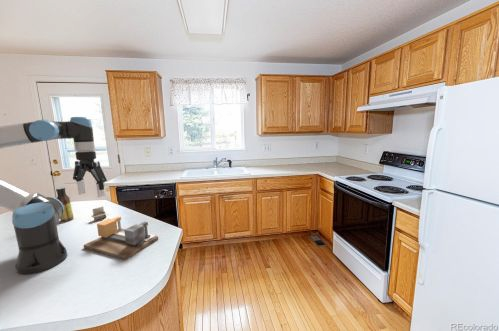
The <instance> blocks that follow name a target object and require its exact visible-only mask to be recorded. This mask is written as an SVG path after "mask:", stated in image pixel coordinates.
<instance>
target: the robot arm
mask: <svg viewBox="0 0 499 331" xmlns="http://www.w3.org/2000/svg"><path fill="white" fill-rule="evenodd" d="M63 139H65V140H66V139H73V146H74V151H75V159H76V160H75V161H74V170H73V173H72V174H73V175H72V179H73V180H75V182H76V185H77V191H78V195H83V194H84V195H85V194H86V193H87V192H86V187H85V185H86V184H85V180H84V177H85V175H86V172H88V173H89V174H91V176H92V177H93V179H94V181H96V185H95V186H96V192H97V198H102V197H105V185H104V183H105V182H107V181H108V180H107V177H106V175H105V174H104V171H103V169H102V167H101V166H102V165H101V164H100V161H99V160H98V161H95V160H96V159H97V153H96V151H95V149H96V148H95V147H96V146H95V141H94V140H95V138H94V129H93V124H92V120H91V118H89V117H88V116H87V117H86V116H72V117H70V120H68V121H52V120H49V119H39V120H35V121H28V122H22V123H15V124H8V125H1V126H0V149H7V148H11V147H15V146H21V145H22V146H23V145H27V144H33V143H41V142H47V141H52V140H63ZM0 207H2V208H4V209H6V210H9V211H11V212H12V215H11V216H12V219H11V222H12V225H13V228H14V233H15V238H16V241H17V246H18V254H17V258H16V262H15V271H16V273H17V274H19V275H31V274H36V273H39V272H42V271H47V270H48V269H51V268H53V267H56V266H58V265H60V263H63V262H64V261H65V260H66V259H67V257H68V250H67V249H66V246H64V244H63V243H62V241H61V239H60V237H59V231H58V225H57V224H58V223H59V221H60V218H61V217H62V215H63V211H64V207H63V204H62V203H61V202H60V201H59V200H58V199H57V197H51V196H49V197H48V196H45V195H42V194H40V193H38V192H33V193H29V192H27V191H25V190H23V189H22V188H19V187H17V186H14V185H13V184H10V183H9V182H7V181H5V180H2V179H1V178H0Z"/></svg>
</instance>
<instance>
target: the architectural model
mask: <svg viewBox="0 0 499 331" xmlns="http://www.w3.org/2000/svg"><path fill="white" fill-rule="evenodd" d="M90 217H91V218H93V221H96V220H97V221H98V220H104V218H105V219H106V218H107V212H106V211H105V210H104V206H100V207H96V208H92V215H91V216H90Z"/></svg>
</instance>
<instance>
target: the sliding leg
mask: <svg viewBox="0 0 499 331" xmlns="http://www.w3.org/2000/svg"><path fill="white" fill-rule="evenodd" d="M121 221H122V217H121V216H116V217H112V218H111V219H110V218H108V219H106V220H103V221H100V222H97V223H96V227H97V228H96V229H97V234H98V236H99V237H105V238H106V237H108V236H110V235H112V234H114V233H116V232H118V230H121V228H122V224H121ZM117 229H118V230H117Z"/></svg>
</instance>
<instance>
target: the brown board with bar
mask: <svg viewBox="0 0 499 331" xmlns="http://www.w3.org/2000/svg"><path fill="white" fill-rule="evenodd" d="M148 226H149V222H148V221H143V222H141V223H139V224H137V223H136V224H133V225H131V226H130V227H127V228H122V227H121V230H118V228H117V230H118V232H116V233H114V234H112V235H110V236H108V237H106V238H105V237H101V236H99V237H98V238H96V239H94V240H91V241H90V242H87V243H85V244H83V248H84V249H86V250H88V251H93V252H96V253H100V254H103V255H107V256H111V257H114V258H117V259H119V260H125V261H126V260H128V259H129V258H131V257H132V256H133V255H135V254H137V253H139V252H140V251H142V250H144V249H145V248H146V247H149V245H152V244H153V243H154V242H157V241H158V240H159V236H157V234H153V233H149V232H148Z"/></svg>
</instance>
